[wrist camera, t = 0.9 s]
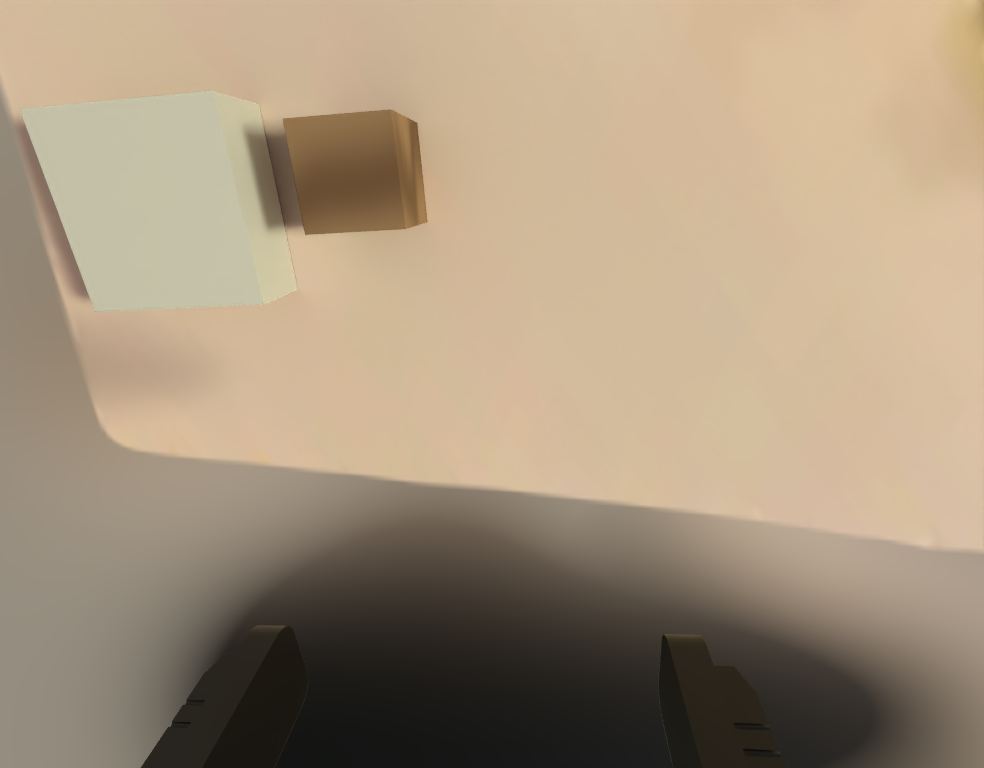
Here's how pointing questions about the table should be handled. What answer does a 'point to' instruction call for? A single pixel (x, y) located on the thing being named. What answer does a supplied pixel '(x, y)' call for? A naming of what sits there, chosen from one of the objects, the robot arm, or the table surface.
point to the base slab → (166, 200)
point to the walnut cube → (357, 171)
